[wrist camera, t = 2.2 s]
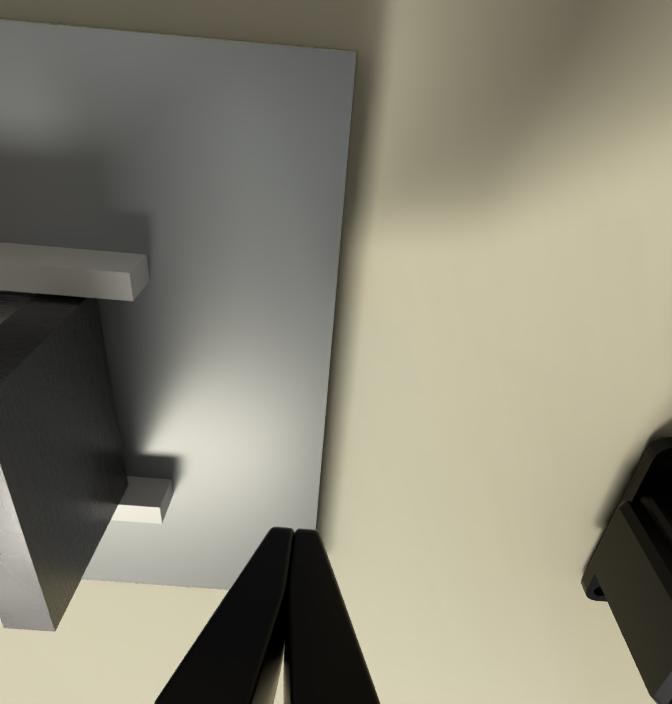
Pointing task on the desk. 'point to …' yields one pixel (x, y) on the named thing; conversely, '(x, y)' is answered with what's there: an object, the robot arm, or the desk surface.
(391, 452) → the desk surface
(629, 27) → the desk surface
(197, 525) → the board
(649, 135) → the desk surface
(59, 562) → the grey block
